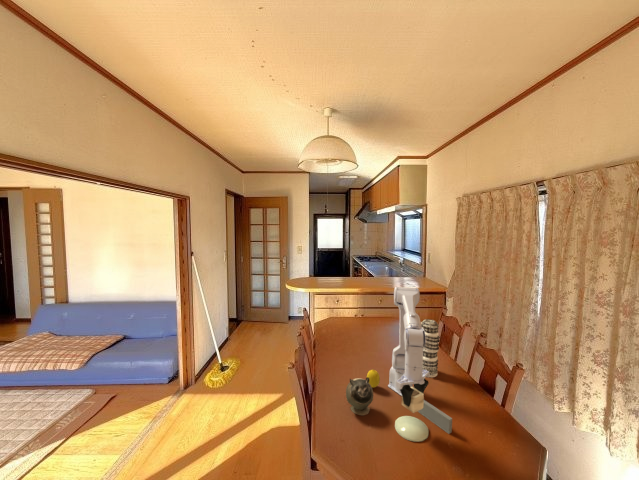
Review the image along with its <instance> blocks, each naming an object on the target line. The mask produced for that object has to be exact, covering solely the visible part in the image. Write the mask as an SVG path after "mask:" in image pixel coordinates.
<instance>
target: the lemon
mask: <svg viewBox="0 0 639 480" xmlns="http://www.w3.org/2000/svg"><path fill="white" fill-rule="evenodd" d="M367 377H368V378H369V380H370V382H369V384H370V385H371V387H372V389H374V388H376V387H378V386H379V384H380V380H381V379H380V373H379V372H378V371H377V370H375V369H370V370H368V372H367V375H366V378H367Z"/></svg>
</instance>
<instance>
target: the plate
mask: <svg viewBox="0 0 639 480" xmlns="http://www.w3.org/2000/svg"><path fill="white" fill-rule="evenodd" d="M394 428H395V431H396V432H397V434H398V435H399V436H400V438H401V437H402V438H403V439H405V440H407V441H410V442H414V443H417V442H419V443H420V442H424V441H426V440H427V439H428V437H429V431H430V430H429V428H428V426H427V425H426V424H425V422H424V421H423V420H421V419H420V418H417V417H415V416H411V415H403V416H399V417H398V418H397V419H395V422H394Z"/></svg>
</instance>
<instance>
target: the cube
mask: <svg viewBox="0 0 639 480" xmlns="http://www.w3.org/2000/svg"><path fill="white" fill-rule="evenodd" d="M410 388H412V389H414V391H413V393H412V396H411V403H410V406H409V407H408V406H406V405H405V404H404V402H403V397H402V396H401V406H403V407H404V408H405V409H406V410H408V411H409V412H410V413H412V414H415V413H417V412H418V411H419V410H421V409H423V405H424V400H425V397H424V396H425V393H421V392H420V391H418V390H417V389H415V388H414V386H413V387H410Z"/></svg>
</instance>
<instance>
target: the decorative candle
mask: <svg viewBox="0 0 639 480" xmlns="http://www.w3.org/2000/svg"><path fill="white" fill-rule="evenodd" d="M420 322H421V327H423V329H424V330H425V335H426V345H425V347H424V346H423V370H427V371H429V377H428V378H435V377H437V376H438V372H439V370H438V369H439V367H438V365H439V363H438V362H439V359H438V358H439V357H438V352H439V349H440V347H439V346H440V341H441V340H440V339H441V337H440V336H439V327H440V324H439V323H438V322H437V321H436V320H434V319H429V318H427V319H424V320H423V321H420Z"/></svg>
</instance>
